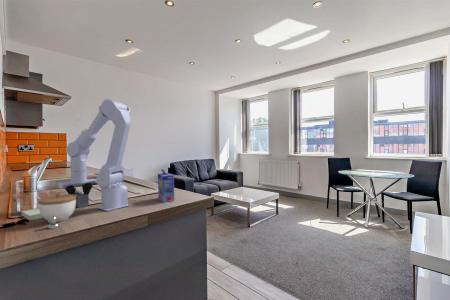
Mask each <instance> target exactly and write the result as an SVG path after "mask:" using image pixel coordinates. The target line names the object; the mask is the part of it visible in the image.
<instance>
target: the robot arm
mask: <svg viewBox="0 0 450 300" xmlns="http://www.w3.org/2000/svg"><path fill="white" fill-rule="evenodd" d="M131 111H132V110H131V109H130V107H129V106H128V105H127V104H126V103H125V102H124V103H123V102H119V101H114V100H112V99H109V98H107V99H104V100H103V101H102V102H101V104H100V105H99V106H98V113H97V114H96V115H95V117H94V119H93V121H92V123H91V124H90V125H89V127H88V128H85V129H83V130H81V132H80V134H79V135H78V137H77V138H76V139H75V140H74V141H73V142H70V143H69V142H68V144H67V146H66V154H67V155H68V156H69V158H70V163H69V164H70V180H69V181H62V182H58V183H57V188H58V189H63V188H64V189H65V191H66V194H73V195H75V192H77V191H76V190H77V188H76V187H77V186H81V188H82V192H84V193H86V194H89V195H90V192H91V191H92V189H93V186H94V185H93V184H97V185H98V186H99V188H100V189H101V190H100V191H101V192H100V193H101V196H100V197H101V205H99V206H97V207H96V208H97V209H100V210H103V211H105V212H108V211H113V210H118V209H120V208H125V207H128V206H129V203H128V202H129V201H128V198H129V197H128V196H129V195H128V192H129V191H128V188H127V186H126V185H125V184H123V182H124V180H125V178H126V176H125V167H124V166H123V165H122V162H123V158H124V155H125V150H126V145H127V142H128V137H129V133H130V130H131V129H130V128H131V123H132V122H131ZM108 121H111V122H112V123H113V124H114V128H113V133H112V138H111V142H110V146H109V150H108V156H107V159H106V162H105V163H104V164H103V165H102V166H101V167H100V170H99V172H98V173H97V174H96V178H87V160H88V156H89V154H90V151H91V150H90V148H91V146H92V145H93V144H94V142H95V141H96V140H97V139H98V134H97V133H98V132H99V131H100V130H101V129H102V128H103V127H104V126H105V125H106V124H107V122H108Z"/></svg>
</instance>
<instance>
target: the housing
mask: <svg viewBox="0 0 450 300" xmlns="http://www.w3.org/2000/svg"><path fill="white" fill-rule="evenodd" d="M75 195H76V207H75V208H77V209H79V208H81V209H82V208H84V207H85V208H86V207H89V202H90V201H89V199H90V197H89V195H90V193H89V194H86V193H84V192H83V191H76V192H75Z"/></svg>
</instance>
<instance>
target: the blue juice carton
mask: <svg viewBox="0 0 450 300" xmlns="http://www.w3.org/2000/svg"><path fill="white" fill-rule="evenodd" d="M160 170H161V171H162V172H161V173H160V172H159V173H157V189H158V190H157V193H158V194H157V196H158V199H159V200H161V201H162V203H166V202H175V184H174V183H175V181H174V180H175V178H174V174H173V173H169V172H165V170H164V169H160Z"/></svg>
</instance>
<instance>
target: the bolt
mask: <svg viewBox="0 0 450 300" xmlns="http://www.w3.org/2000/svg"><path fill="white" fill-rule="evenodd" d="M59 227H60V223H59V222H56V216H52V217H50V222H49V223H48V224H47V225H46V229H47V230H53V229H54V230H56V229H57V228H59Z"/></svg>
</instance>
